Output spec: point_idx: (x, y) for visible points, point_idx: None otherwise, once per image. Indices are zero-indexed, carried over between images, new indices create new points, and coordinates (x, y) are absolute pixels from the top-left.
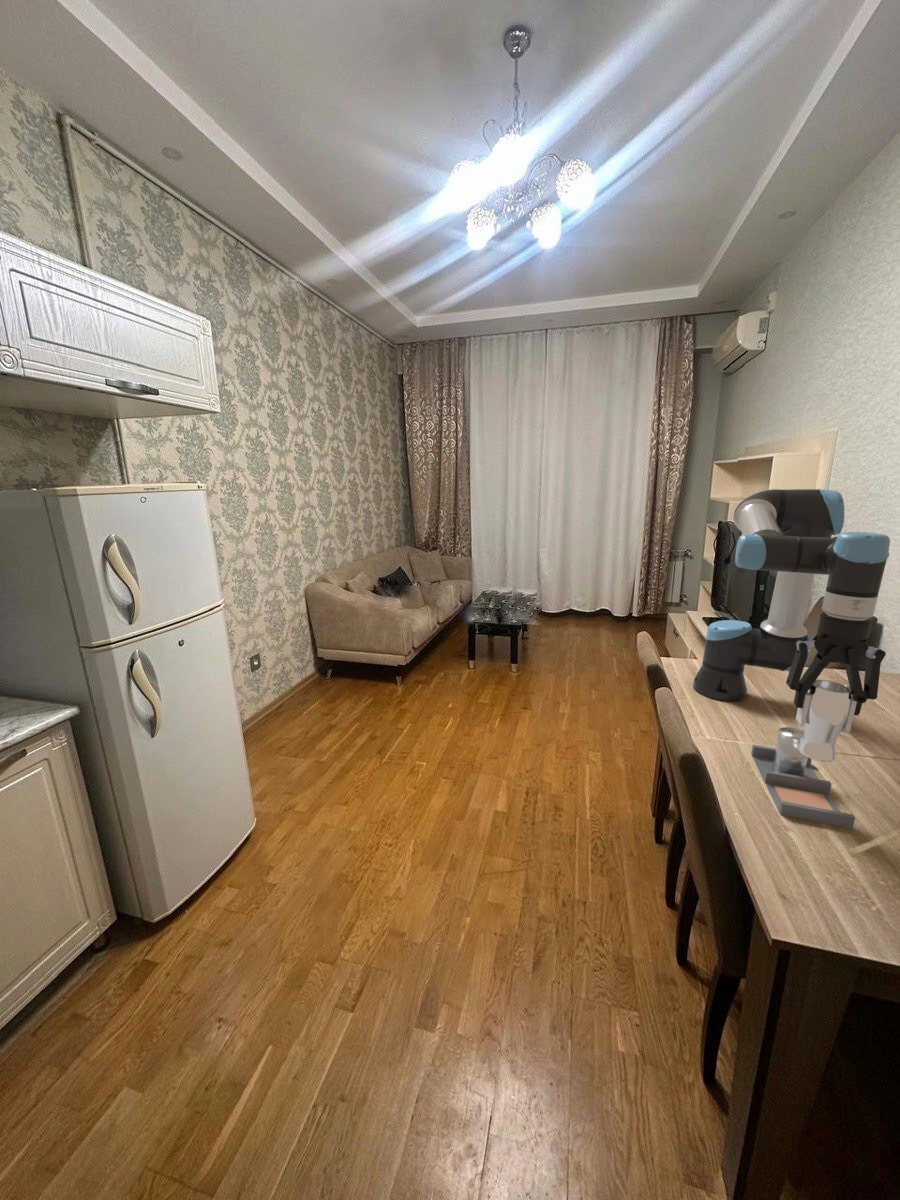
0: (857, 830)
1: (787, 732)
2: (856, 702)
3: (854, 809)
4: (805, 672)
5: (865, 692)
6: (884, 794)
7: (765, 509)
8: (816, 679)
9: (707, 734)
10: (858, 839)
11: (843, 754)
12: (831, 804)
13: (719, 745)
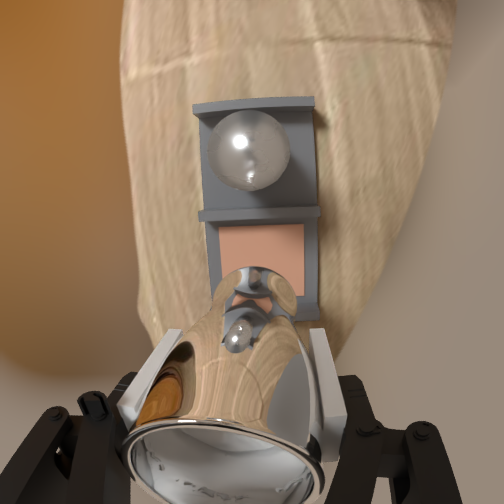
0: (327, 299)
1: (227, 149)
2: (336, 457)
3: (348, 237)
4: (71, 482)
5: (390, 470)
6: (415, 166)
7: None
8: (153, 429)
9: (134, 62)
10: (319, 321)
11: (387, 41)
12: (309, 250)
13: (148, 94)
